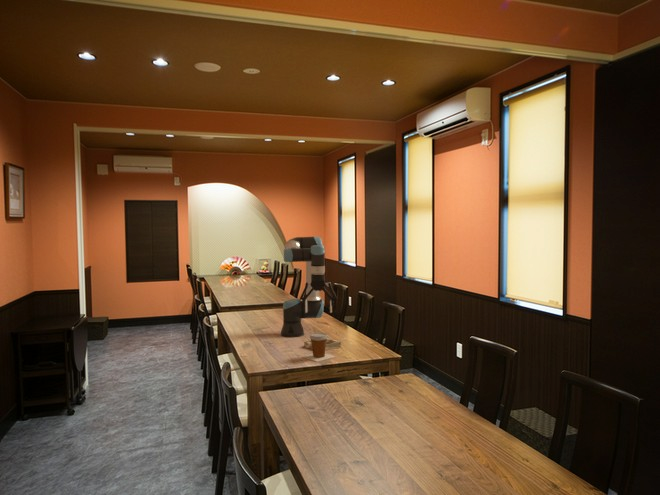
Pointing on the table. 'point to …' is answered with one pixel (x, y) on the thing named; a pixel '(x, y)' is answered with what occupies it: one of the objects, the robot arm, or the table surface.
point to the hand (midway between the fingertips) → (318, 312)
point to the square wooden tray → (330, 343)
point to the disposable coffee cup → (318, 344)
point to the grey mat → (319, 358)
